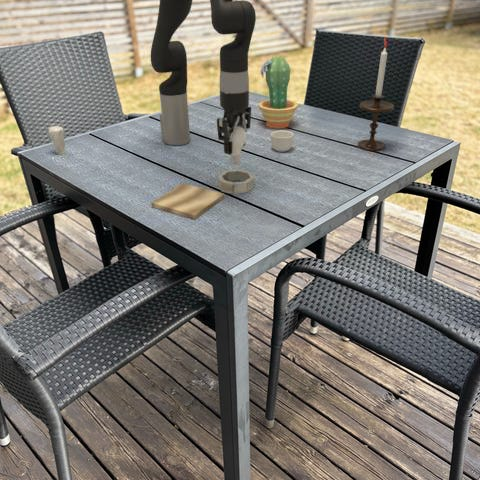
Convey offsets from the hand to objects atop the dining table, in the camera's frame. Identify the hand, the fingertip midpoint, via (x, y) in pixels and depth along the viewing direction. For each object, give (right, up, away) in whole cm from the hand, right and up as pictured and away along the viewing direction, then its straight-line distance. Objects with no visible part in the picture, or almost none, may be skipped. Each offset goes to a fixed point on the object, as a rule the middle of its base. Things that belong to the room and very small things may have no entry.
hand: (235, 149), depth 128 cm
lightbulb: (0, -4, +2) cm, 4 cm away
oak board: (-13, -15, -3) cm, 20 cm away
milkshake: (-60, +5, +30) cm, 67 cm away
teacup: (+16, +6, +31) cm, 36 cm away
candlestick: (+46, +7, +32) cm, 57 cm away
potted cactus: (+16, +20, +53) cm, 59 cm away
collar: (0, -10, +6) cm, 11 cm away
